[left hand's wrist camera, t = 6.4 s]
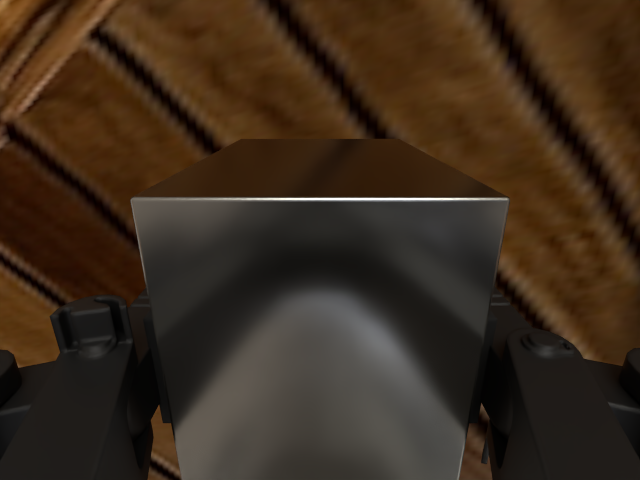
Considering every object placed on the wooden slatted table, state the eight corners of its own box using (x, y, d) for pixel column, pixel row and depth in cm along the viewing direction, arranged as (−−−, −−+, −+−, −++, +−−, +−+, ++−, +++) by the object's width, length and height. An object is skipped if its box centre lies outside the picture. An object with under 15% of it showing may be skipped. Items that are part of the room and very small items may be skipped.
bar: (239, 138, 13) (127, 197, 5) (400, 138, 13) (512, 197, 5) (270, 552, 21) (241, 811, 13) (370, 553, 21) (398, 811, 13)
